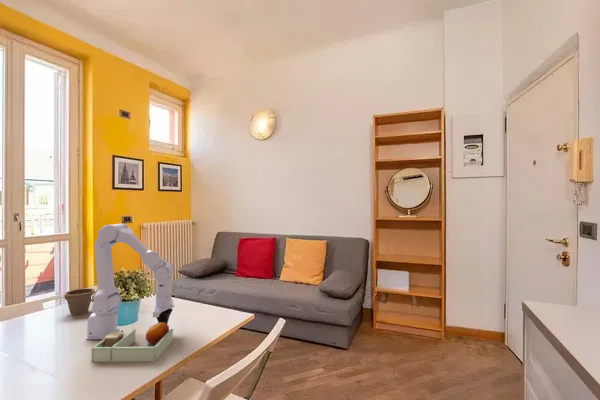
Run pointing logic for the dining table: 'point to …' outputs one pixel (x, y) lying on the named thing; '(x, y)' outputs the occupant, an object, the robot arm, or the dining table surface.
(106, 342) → the walnut box
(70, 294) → the flower pot
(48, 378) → the dining table surface
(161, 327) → the fruit
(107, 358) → the divider frame
